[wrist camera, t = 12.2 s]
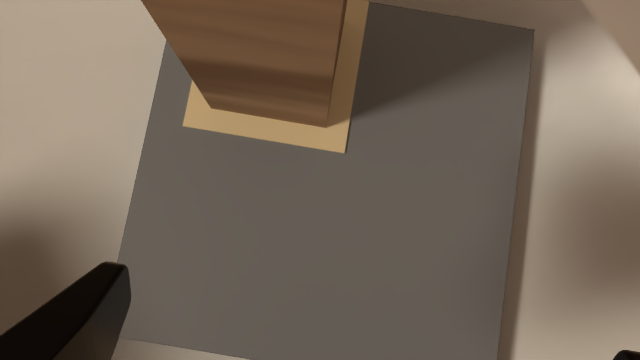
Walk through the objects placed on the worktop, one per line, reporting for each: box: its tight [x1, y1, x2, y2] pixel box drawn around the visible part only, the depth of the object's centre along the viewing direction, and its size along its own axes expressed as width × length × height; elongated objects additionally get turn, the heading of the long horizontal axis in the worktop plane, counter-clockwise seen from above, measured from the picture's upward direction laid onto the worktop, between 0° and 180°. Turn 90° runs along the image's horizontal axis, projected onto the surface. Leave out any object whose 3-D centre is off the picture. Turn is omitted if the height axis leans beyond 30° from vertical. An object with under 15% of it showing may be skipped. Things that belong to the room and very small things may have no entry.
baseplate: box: [117, 0, 534, 360], centre depth 23 cm, size 16×16×1 cm
